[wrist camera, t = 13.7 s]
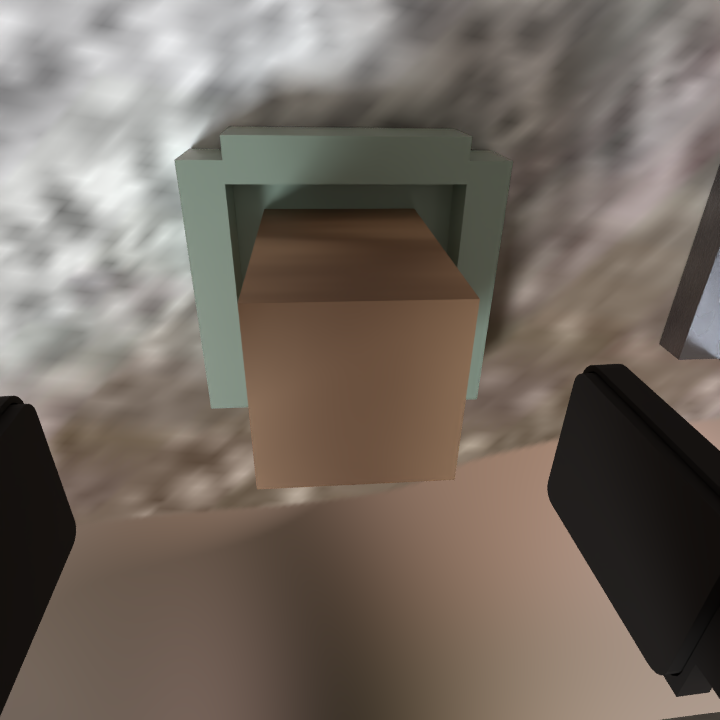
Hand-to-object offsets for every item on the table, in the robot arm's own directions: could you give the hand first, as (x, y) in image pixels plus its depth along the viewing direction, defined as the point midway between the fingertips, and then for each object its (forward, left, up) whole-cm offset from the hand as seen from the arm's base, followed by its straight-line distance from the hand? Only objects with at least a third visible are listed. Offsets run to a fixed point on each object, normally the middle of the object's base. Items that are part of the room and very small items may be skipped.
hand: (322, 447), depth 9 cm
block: (+1, 0, -9) cm, 9 cm away
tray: (+1, 0, -9) cm, 9 cm away
